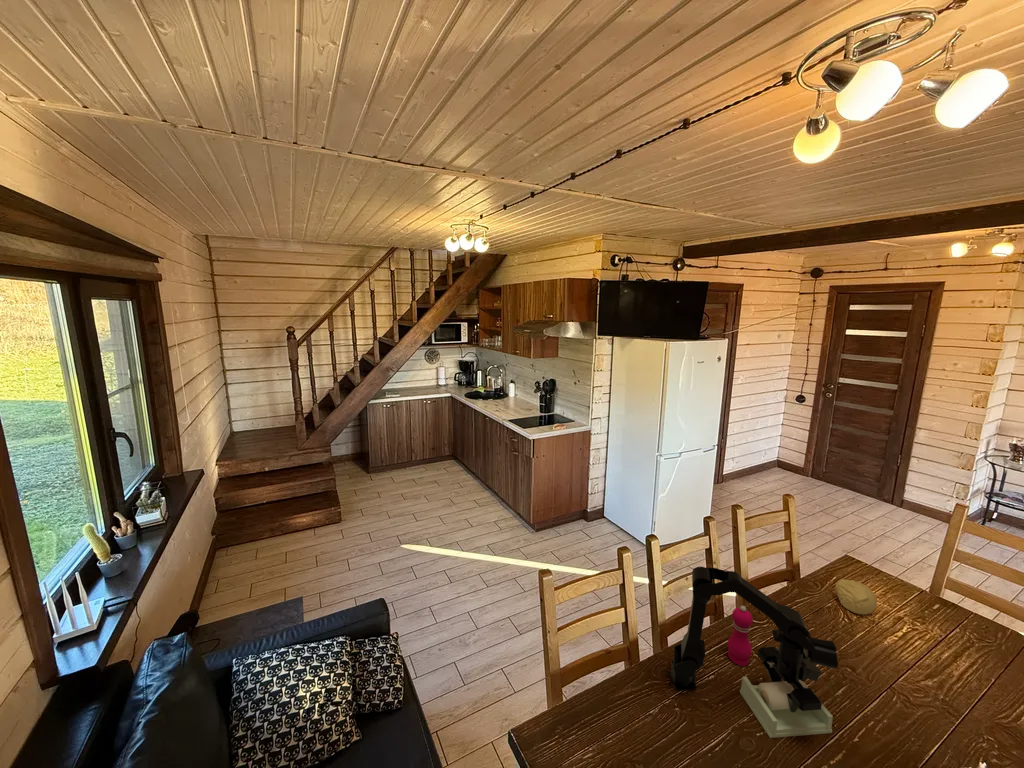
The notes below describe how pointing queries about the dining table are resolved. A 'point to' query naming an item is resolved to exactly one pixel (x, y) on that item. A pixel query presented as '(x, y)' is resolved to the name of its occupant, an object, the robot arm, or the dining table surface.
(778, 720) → the roll cradle
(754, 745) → the dining table surface
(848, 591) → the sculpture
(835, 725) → the dining table surface
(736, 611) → the pepper mill
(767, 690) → the kitchen roll
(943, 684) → the dining table surface
